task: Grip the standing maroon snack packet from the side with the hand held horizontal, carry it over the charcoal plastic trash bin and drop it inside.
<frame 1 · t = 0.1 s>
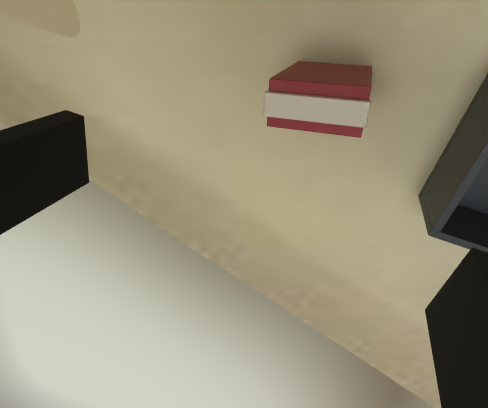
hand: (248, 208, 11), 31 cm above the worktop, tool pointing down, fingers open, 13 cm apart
packet: (331, 82, 37), on the worktop
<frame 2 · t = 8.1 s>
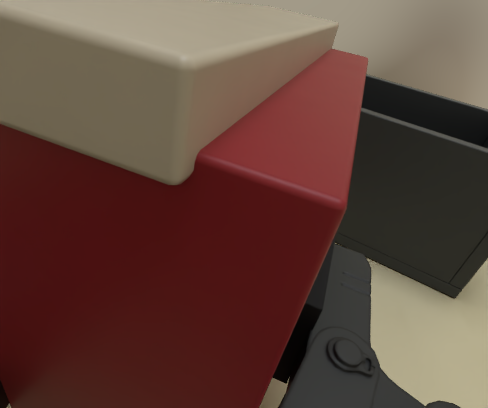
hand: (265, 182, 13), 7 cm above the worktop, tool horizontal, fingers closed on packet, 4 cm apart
packet: (183, 407, 12), on the worktop, touching gripper
bin: (356, 202, 28), on the worktop
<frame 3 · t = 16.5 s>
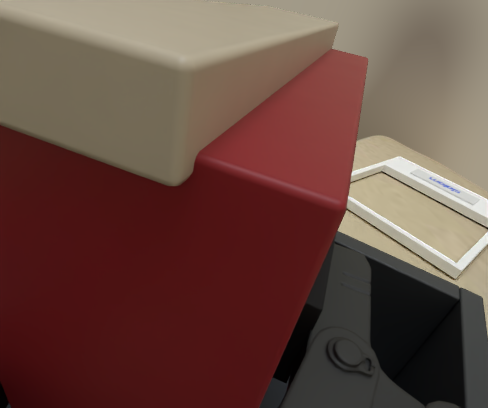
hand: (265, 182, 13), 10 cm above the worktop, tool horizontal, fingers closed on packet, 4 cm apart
packet: (183, 407, 12), point 3 cm above the worktop, touching gripper
photo frame: (417, 206, 37), on the worktop
when the fingers open (14 cm above the worktop, at t = 25.9 s): packet drops 6 cm, resting on bin.
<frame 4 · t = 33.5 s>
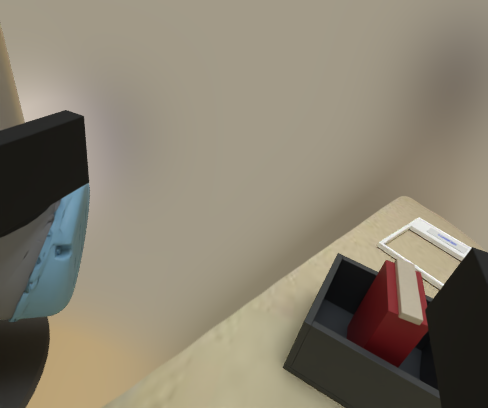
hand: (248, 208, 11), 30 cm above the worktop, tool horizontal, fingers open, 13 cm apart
packet: (361, 356, 41), point 1 cm above the worktop, touching bin
photo frame: (431, 254, 64), on the worktop
bin: (358, 360, 42), on the worktop
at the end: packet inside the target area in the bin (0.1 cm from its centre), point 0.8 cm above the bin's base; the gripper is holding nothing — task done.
